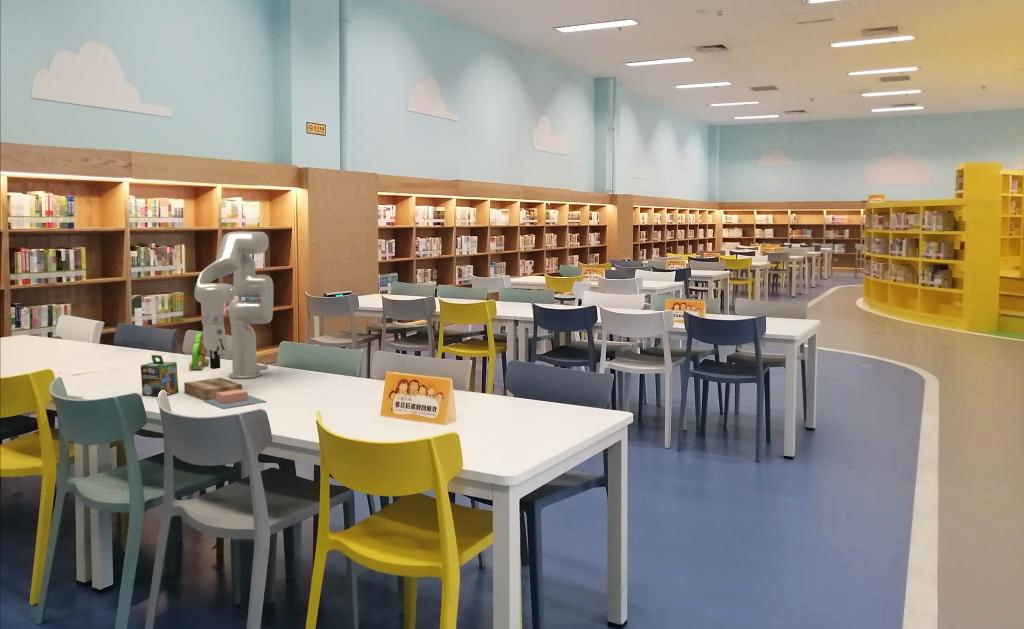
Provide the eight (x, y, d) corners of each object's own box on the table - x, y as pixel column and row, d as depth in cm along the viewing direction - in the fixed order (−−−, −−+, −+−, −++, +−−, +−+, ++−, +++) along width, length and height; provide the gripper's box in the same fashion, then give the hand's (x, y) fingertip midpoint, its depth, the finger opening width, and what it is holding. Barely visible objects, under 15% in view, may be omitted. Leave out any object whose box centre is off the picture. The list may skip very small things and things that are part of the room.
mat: (245, 395, 295) (245, 394, 295) (266, 402, 284) (266, 401, 284) (203, 401, 284) (203, 400, 284) (223, 409, 273) (223, 408, 273)
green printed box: (179, 392, 299) (177, 353, 298) (161, 397, 291) (159, 357, 289) (159, 390, 302) (157, 352, 301) (141, 395, 294) (139, 355, 292)
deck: (220, 387, 308) (220, 377, 307) (242, 395, 295) (242, 384, 295) (184, 393, 298) (184, 382, 297) (205, 400, 285) (205, 389, 285)
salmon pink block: (247, 391, 285) (247, 400, 286) (239, 389, 290) (240, 397, 290) (223, 395, 279) (223, 403, 280) (215, 392, 283) (216, 401, 284)
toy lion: (201, 370, 343) (200, 336, 341) (188, 371, 342) (187, 336, 341) (211, 364, 359) (210, 331, 357) (198, 364, 358) (197, 331, 356)
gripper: (232, 321, 290) (234, 370, 293) (213, 316, 300) (215, 363, 303) (212, 323, 285) (214, 373, 288) (194, 318, 295) (196, 366, 298)
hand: (215, 368), depth 296 cm, fingers closed
